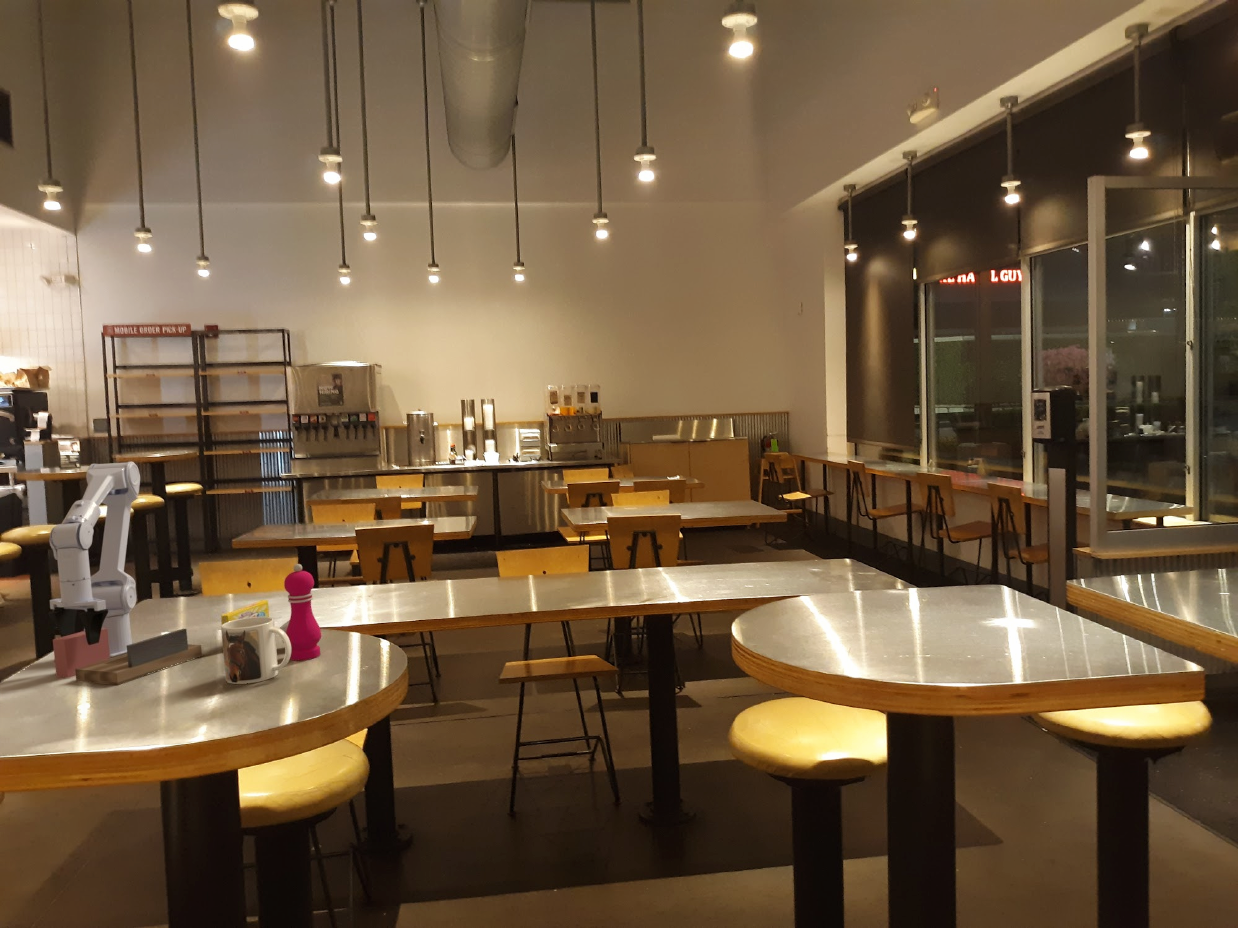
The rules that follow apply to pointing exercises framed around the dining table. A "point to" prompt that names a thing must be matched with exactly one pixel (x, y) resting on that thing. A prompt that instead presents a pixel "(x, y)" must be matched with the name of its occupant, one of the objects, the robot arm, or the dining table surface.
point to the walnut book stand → (120, 673)
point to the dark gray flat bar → (157, 647)
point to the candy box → (247, 612)
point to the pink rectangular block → (78, 652)
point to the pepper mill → (302, 616)
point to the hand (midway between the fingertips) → (81, 642)
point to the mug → (252, 649)
